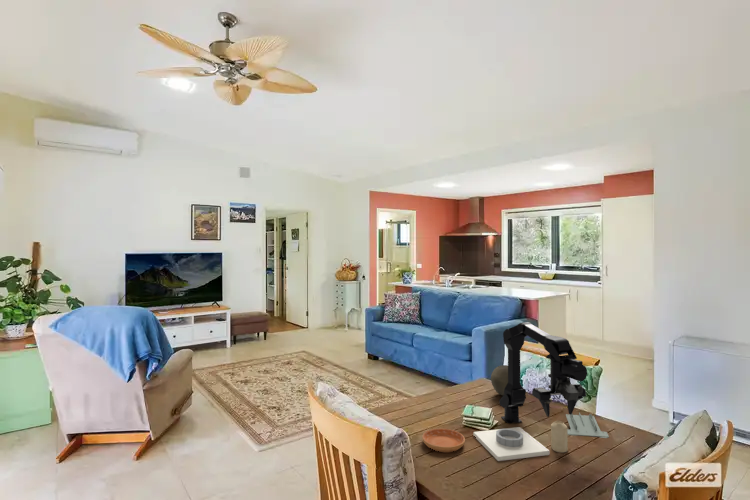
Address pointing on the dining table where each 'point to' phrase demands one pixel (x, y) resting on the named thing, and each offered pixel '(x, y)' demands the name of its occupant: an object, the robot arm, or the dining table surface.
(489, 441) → the collar plate
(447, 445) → the saucer
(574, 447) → the dining table surface
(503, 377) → the dark olive sphere
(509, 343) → the robot arm
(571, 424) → the metal bracket
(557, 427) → the candle
